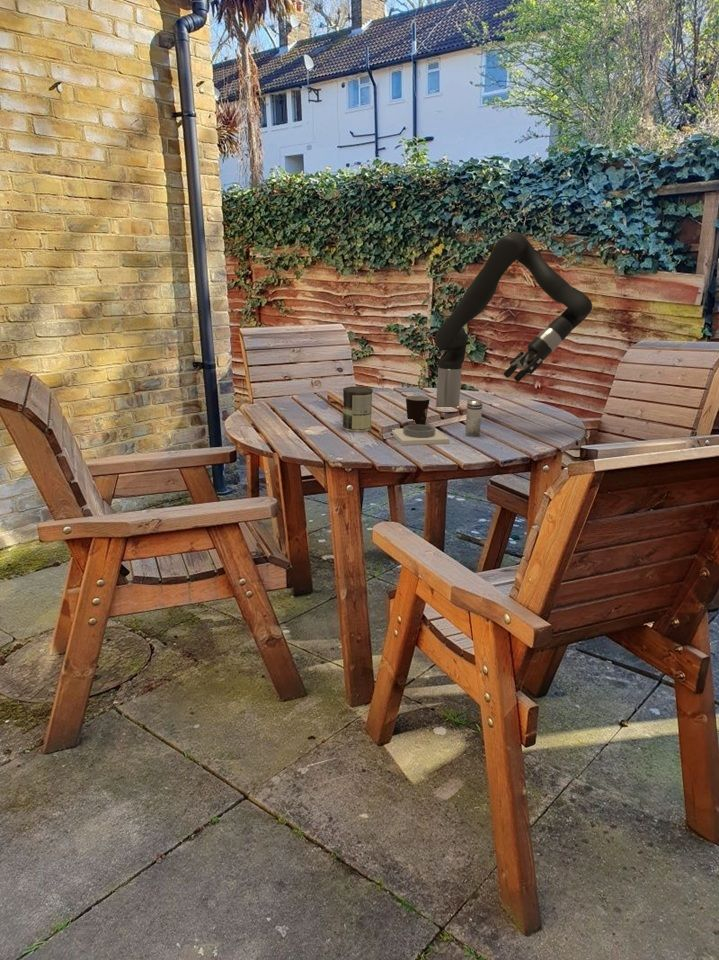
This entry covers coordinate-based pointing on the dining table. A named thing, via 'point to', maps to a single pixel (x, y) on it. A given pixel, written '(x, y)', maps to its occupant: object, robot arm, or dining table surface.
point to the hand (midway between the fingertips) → (510, 378)
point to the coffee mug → (417, 408)
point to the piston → (473, 417)
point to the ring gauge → (419, 435)
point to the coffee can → (357, 409)
